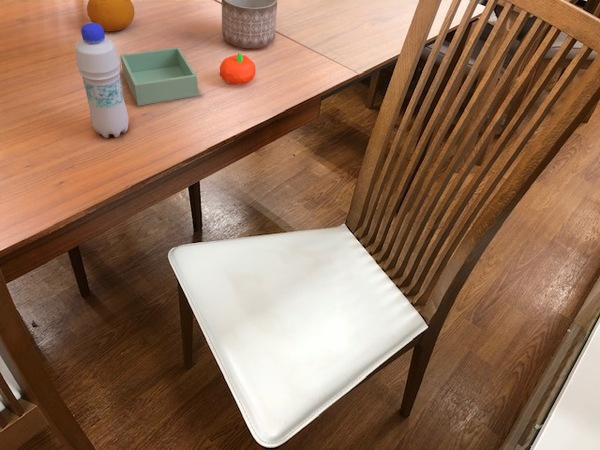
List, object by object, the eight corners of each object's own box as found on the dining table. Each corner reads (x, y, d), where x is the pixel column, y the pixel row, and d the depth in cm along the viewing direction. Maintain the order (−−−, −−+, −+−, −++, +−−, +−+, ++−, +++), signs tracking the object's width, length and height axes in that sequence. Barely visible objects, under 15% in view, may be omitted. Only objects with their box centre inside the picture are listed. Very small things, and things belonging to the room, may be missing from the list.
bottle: (137, 124, 95) (120, 19, 81) (121, 144, 90) (100, 38, 76) (103, 116, 95) (81, 12, 81) (86, 137, 91) (58, 29, 76)
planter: (285, 45, 122) (288, 1, 115) (241, 57, 116) (242, 12, 109) (254, 23, 129) (256, -19, 121) (212, 34, 122) (210, -10, 115)
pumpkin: (212, 77, 109) (211, 49, 104) (244, 69, 113) (245, 42, 108) (229, 94, 105) (229, 65, 100) (262, 84, 109) (263, 57, 104)
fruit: (81, 31, 117) (73, -4, 112) (106, 13, 125) (100, -21, 119) (121, 41, 116) (116, 6, 110) (144, 22, 123) (140, -11, 117)
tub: (137, 106, 99) (134, 85, 96) (123, 74, 106) (120, 54, 103) (198, 96, 103) (197, 75, 100) (180, 66, 111) (178, 46, 107)
